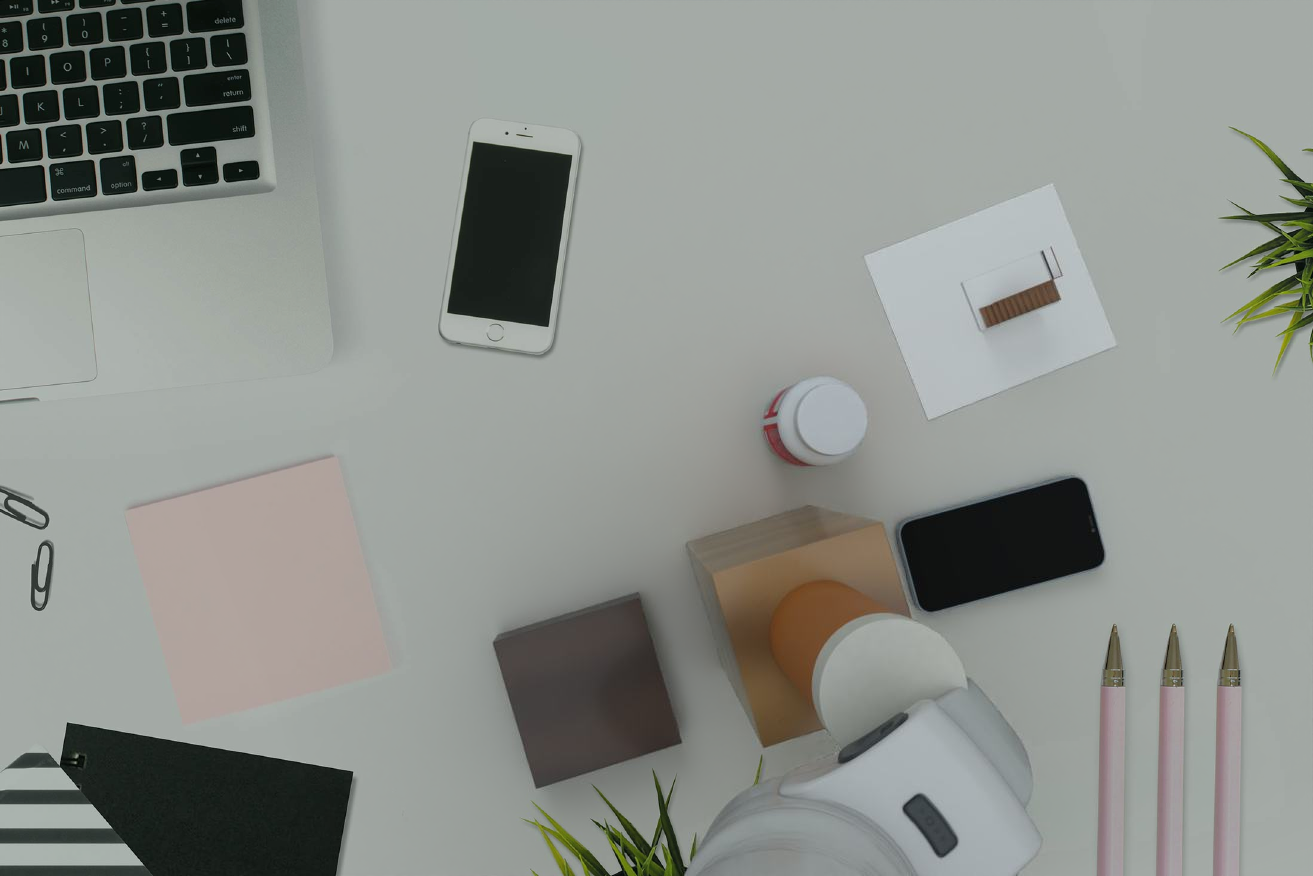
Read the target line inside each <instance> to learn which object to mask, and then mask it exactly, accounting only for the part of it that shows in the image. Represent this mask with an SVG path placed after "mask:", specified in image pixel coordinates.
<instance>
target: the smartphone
mask: <svg viewBox="0 0 1313 876" xmlns="http://www.w3.org/2000/svg"><path fill="white" fill-rule="evenodd" d="M895 533H896V534H895V535H896V539H897V543H898V544H897V545H898V547H899V551H900V554H901V559H902V562H903V567H904V570H905V573H906V577H907V580H908V585H909V589H910V592H911V596H912V599H913V602H914V605H915V606H916V607H917V609H919V610H920V611H922V612H924V613H926V614H937V613H941V612H944V611H948V610H951V609H955V608H956V609H957V608H959V607H963V606H967V605H970V604H973V603H977V602H982V601H985V600H989V599H992V598H996V597H999V596H1004V595H1006V594H1011V593H1015V592H1018V591H1022V590H1025V589H1029V588H1032V587H1036V586H1040V585H1043V584H1047V583H1051V582H1054V581H1059V580H1063V579H1065V578H1070V577H1073V576H1076V575H1081V574H1085V573H1088V572H1092V571H1095V570H1098V569H1100V568H1101V567H1102V566H1103V565H1104V564H1105V562H1106V559H1107V552H1106V551H1107V550H1106V546H1105V543H1104V540H1103V536H1102V533H1101V527H1100V526H1099V522H1098V517H1097V513H1096V511H1095V507H1094V503H1093V500H1092V496H1091V491H1090V489H1089V486H1088V483H1087V482H1086V480H1085V479H1083V478H1082V477H1081V476H1078V475H1065V476H1062V477H1058V478H1054V479H1050V480H1046V481H1042V482H1038V483H1035V484H1032V485H1031V484H1030V485H1028V486H1024V487H1020V488H1016V489H1013V490H1008V491H1006V492H1001V493H998V494H994V495H991V496H990V495H989V496H987V497H982V498H979V499H975V500H972V501H971V500H970V501H969V502H965V503H960V504H957V505H954V506H949V507H945V508H942V509H938V510H934V511H931V512H926V513H923V514H919V515H916V516H912V517H908V518H905V519H903V520H902V521H901V522H899V524H898V526H897V527H896V532H895Z"/></svg>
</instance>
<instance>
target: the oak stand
mask: <svg viewBox="0 0 1313 876" xmlns="http://www.w3.org/2000/svg"><path fill="white" fill-rule="evenodd" d="M685 547H686V551H687V553H688V557H689V560H690V563H691V566H692V569H693V573H694V576H695V580H696V583H697V586H698V590H699V593H700V596H701V599H702V603H703V607H704V609H705V612H706V613H705V614H706V617H707V620H708V623H709V626H710V627H709V628H710V630H711V633H712V636H713V640H714V643H715V647H716V650H717V653H718V657H719V660H720V663H721V667H722V669H723V672H724V674H725V676H726V677H727V679H728V681H729V684H730V685H731V688H732V690H733V691H734V693H735V695H736V697H737V700H738V701H739V704H740V706H741V708H742V709H743V711H744V713H745V715H746V718H747V719H748V721H749V723H750V725H751V727H752V729H753V731H754V733H755V735H756V737H757V739H758V741H759V743H760V745H761V747H762V748H763V749H765V748H769V747H772V746H775V745H778V744H779V745H780V744H782V743H784V742H788V741H790V740H794V739H796V738H800V737H803V736H806V735H810V734H813V733H817V732H819V731H823V730H826V729H825V728H824V726H823V725H822V723H821V721H820V719H819V717H818V715H817V714H816V713H815V711H814V710H813V709H812V708H811V706H810V705H809V704H808V703H807V701H806V700H805V699H804V697H803V696H802V695H801V694H800V692H799V691H798V690H797V688H796V687H795V686H794V685H793V683H792V682H791V681H790V680H789V678H788V677H787V676H786V674H785V673H784V672H783V671H782V669H781V668H780V666H779V665H778V664H777V662H776V660H775V658H774V655H773V653H772V649H771V645H770V625H771V621H772V618H773V615H774V612H775V610H776V608H777V607H778V605H779V603H780V602H781V601H782V600H783V598H784V597H785V596H786V595H787V594H789V593H790V592H791V591H792V590H794V589H795V588H797V587H799V586H801V585H803V584H806V583H808V582H813V581H819V580H829V581H835V582H839V583H842V584H844V585H847V586H849V587H851V588H852V589H854V590H856V591H858V592H860V593H862V594H863V595H865V596H867V597H869V598H871V599H873V600H874V601H876V602H878V603H880V604H882V605H884V606H885V607H887V608H889V609H891V610H893V611H895V612H896V613H898V614H900V615H902V616H906V617H909V618H911V619H913V618H912V614H911V611H910V608H909V605H908V602H907V601H908V600H907V598H906V594H905V591H904V588H903V585H902V581H901V578H900V574H899V571H898V568H897V565H896V562H895V561H896V560H895V558H894V555H893V551H892V548H891V544H890V542H889V539H888V535H887V532H886V528H885V524H884V522H883V521H880V520H876V519H872V518H867V517H863V516H859V515H854V514H850V513H846V512H841V511H837V510H834V509H828V508H824V507H821V506H816V505H812V504H809V505H805V506H803V507H799V508H795V509H793V510H790V511H785V512H783V513H779V514H775V515H772V516H769V517H767V518H763V519H759V520H755V521H753V522H749V523H746V524H743V525H740V526H737V527H733V528H730V529H726V530H723V531H719V532H716V533H714V534H709V535H707V536H704V537H703V536H702V537H700V538H697V539H694V540H691V541H687V542H686V543H685Z"/></svg>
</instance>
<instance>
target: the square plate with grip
mask: <svg viewBox="0 0 1313 876" xmlns="http://www.w3.org/2000/svg"><path fill="white" fill-rule="evenodd" d="M863 259H864V261H865V264H866V266H867V269H868V271H869V274H870V277H871V279H872V282H873V284H874V287H875V289H876V292H877V294H878V297H879V299H880V302H881V305H882V307H883V310H884V312H885V314H886V318H887V319H888V322H889V324H890V327H891V330H892V332H893V335H894V337H895V340H896V343H897V345H898V347H899V350H900V353H901V356H902V357H903V360H904V363H905V365H906V369H907V370H908V373H909V375H910V378H911V381H912V383H913V385H914V388H915V391H916V393H917V395H918V399H919V400H920V403H921V406H922V408H923V410H924V413H925V415H926V419H927V421H931V420H934V419H936V418H938V417H940V416H943V415H946V414H948V413H950V412H952V411H956V410H958V409H960V408H963V407H966V406H968V405H971V404H973V403H976V402H978V401H980V400H984V399H986V398H988V397H992V396H993V395H996V394H998V393H1002V392H1004V391H1007V390H1008V389H1012V388H1013V387H1016V386H1019V385H1021V384H1024V383H1026V382H1029V381H1031V380H1035V379H1036V378H1039V377H1042V376H1043V375H1047V374H1048V373H1052V372H1054V371H1056V370H1059V369H1061V368H1064V367H1066V366H1069V365H1071V364H1075V363H1077V362H1079V361H1082V360H1084V359H1087V358H1090V357H1092V356H1094V355H1096V354H1099V353H1102V352H1104V351H1107V350H1109V349H1112V348H1114V347H1116V346H1118V343H1117V341H1116V338H1115V335H1114V332H1113V330H1112V328H1111V325H1110V323H1109V321H1108V318H1107V316H1106V313H1105V310H1104V307H1103V306H1102V303H1101V300H1100V298H1099V295H1098V292H1097V290H1096V288H1095V285H1094V281H1093V280H1092V278H1091V277H1092V276H1091V275H1090V272H1089V270H1088V267H1087V265H1086V262H1085V260H1084V257H1083V255H1082V252H1081V249H1080V247H1079V245H1078V242H1077V239H1076V237H1075V234H1074V232H1073V229H1072V226H1071V225H1070V221H1069V220H1068V217H1067V214H1066V212H1065V209H1064V206H1063V204H1062V202H1061V200H1060V196H1059V194H1058V192H1057V190H1056V187H1055V185H1054V182H1051V183H1049V184H1046V185H1043V186H1041V187H1039V188H1037V189H1034V190H1031V191H1028V192H1025V193H1023V194H1021V195H1018V196H1015V197H1013V198H1010V199H1008V200H1004V201H1002V202H999V203H997V204H995V205H992V206H990V207H987V208H984V209H982V210H979V211H976V212H974V213H971V214H969V215H967V216H964V217H962V218H958V219H956V220H954V221H953V220H952V221H951V222H948V223H945V224H943V225H940V226H938V227H936V228H933V229H930V230H928V231H925V232H923V233H920V234H917V235H915V236H912V237H910V238H907V239H905V240H901V241H899V242H896V243H894V244H891V245H889V246H887V247H884V248H881V249H878V250H875V251H874V252H870V253H869V254H866V255H863Z"/></svg>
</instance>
